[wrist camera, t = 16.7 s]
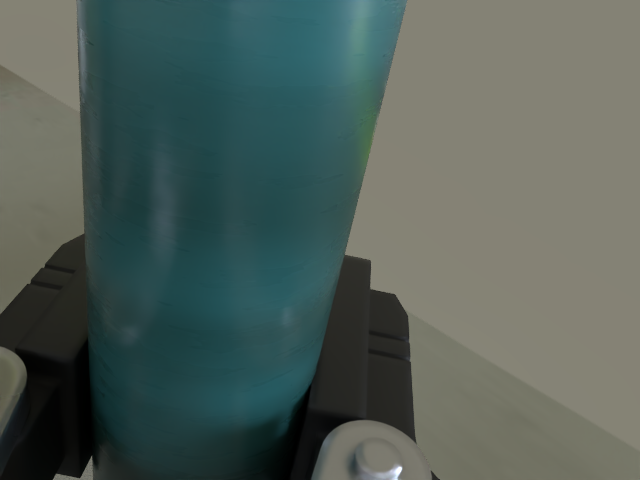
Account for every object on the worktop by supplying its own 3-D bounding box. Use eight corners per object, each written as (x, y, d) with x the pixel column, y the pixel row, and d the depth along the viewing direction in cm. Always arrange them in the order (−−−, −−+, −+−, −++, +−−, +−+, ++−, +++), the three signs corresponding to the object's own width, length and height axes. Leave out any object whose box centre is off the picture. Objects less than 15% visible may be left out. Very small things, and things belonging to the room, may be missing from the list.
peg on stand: (197, 1056, 9) (1039, -204, 1) (-40, 1015, 8) (-1907, -869, 1) (282, 503, 16) (435, -122, 8) (157, 479, 16) (195, -174, 8)
